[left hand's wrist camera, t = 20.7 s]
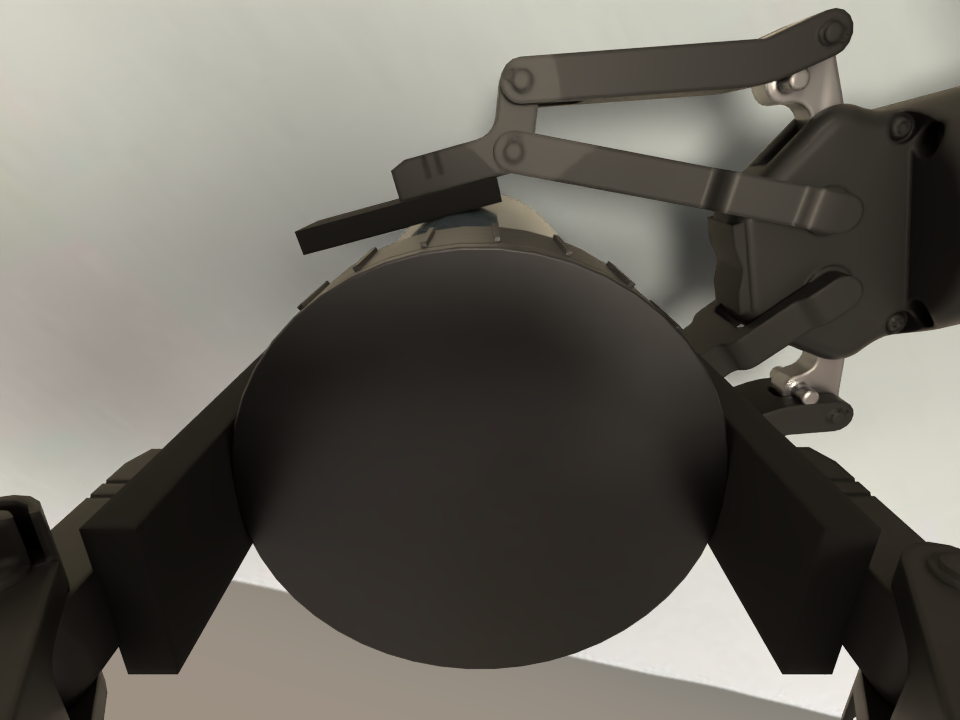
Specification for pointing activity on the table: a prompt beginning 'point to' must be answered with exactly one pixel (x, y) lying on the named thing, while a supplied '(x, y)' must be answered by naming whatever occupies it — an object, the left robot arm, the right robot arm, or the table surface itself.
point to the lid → (480, 451)
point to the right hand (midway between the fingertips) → (356, 356)
